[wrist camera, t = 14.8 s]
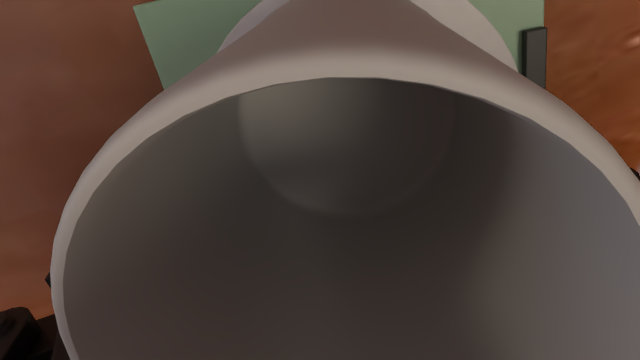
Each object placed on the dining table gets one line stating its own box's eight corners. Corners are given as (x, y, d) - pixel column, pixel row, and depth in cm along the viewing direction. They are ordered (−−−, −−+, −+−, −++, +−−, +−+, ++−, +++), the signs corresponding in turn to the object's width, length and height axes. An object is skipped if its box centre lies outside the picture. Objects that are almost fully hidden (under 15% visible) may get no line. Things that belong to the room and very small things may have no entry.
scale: (517, 217, 21) (543, 255, 18) (248, 254, 23) (235, 294, 20) (518, -85, 15) (556, -95, 12) (159, 0, 17) (123, 7, 14)
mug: (189, 121, 16) (-51, 364, 6) (335, -79, 13) (298, -209, 3) (410, 285, 19) (477, 618, 9) (573, 158, 16) (931, 466, 6)
